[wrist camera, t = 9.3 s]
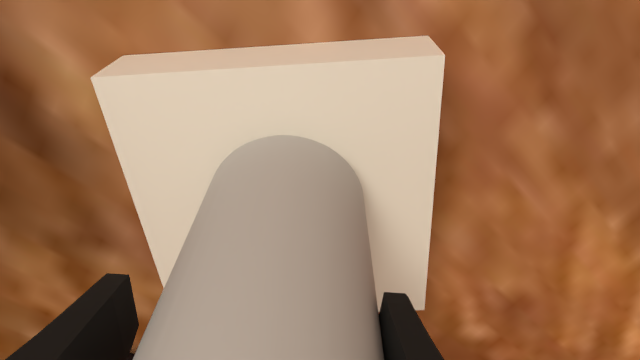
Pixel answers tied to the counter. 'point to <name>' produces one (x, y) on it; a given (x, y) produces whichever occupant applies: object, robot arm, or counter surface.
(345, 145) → the block
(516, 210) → the counter surface
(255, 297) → the beverage can
